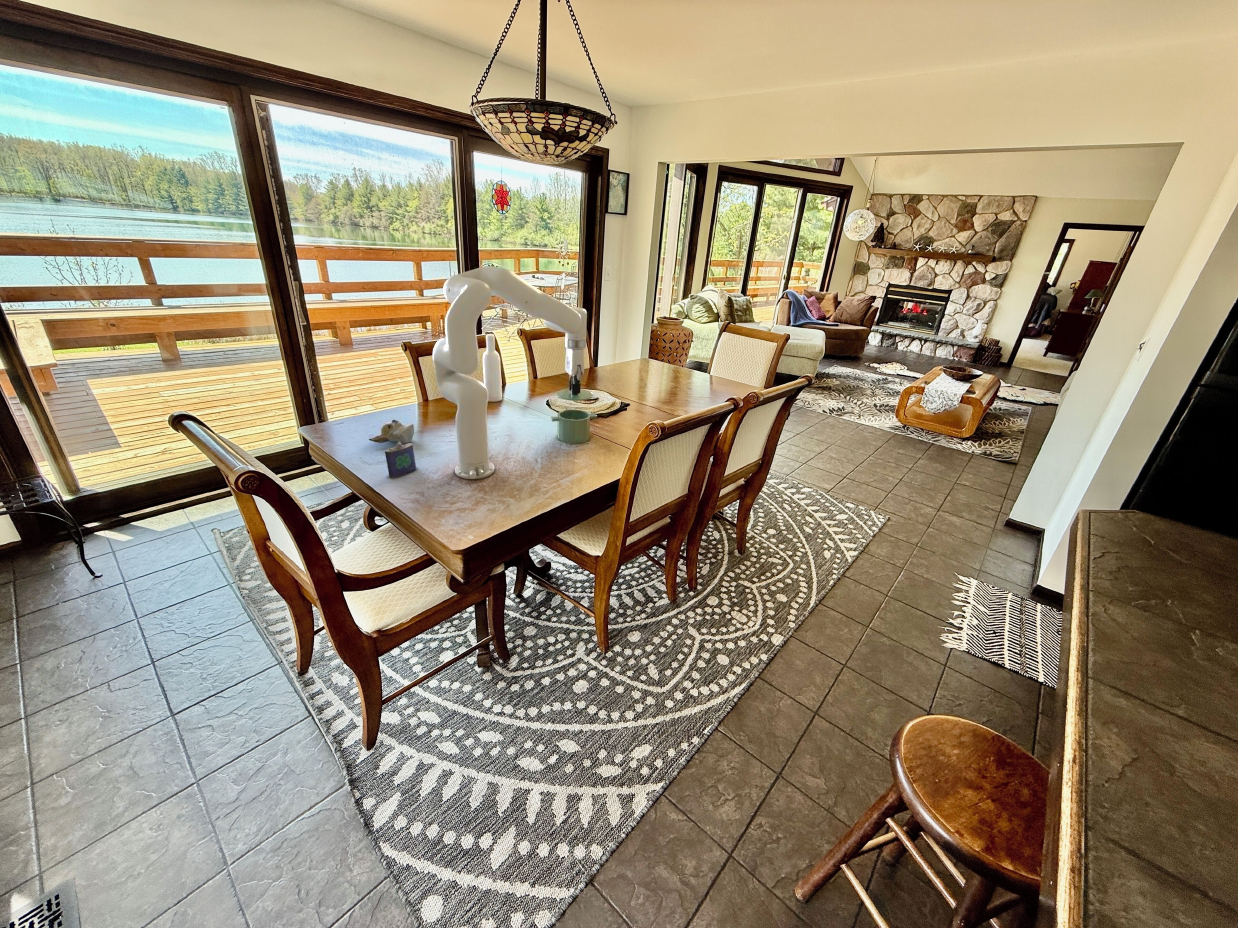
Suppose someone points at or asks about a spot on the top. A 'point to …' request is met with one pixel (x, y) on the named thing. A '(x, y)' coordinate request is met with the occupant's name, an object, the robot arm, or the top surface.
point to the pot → (573, 425)
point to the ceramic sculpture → (395, 433)
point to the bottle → (492, 370)
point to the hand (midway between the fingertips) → (574, 391)
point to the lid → (568, 394)
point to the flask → (400, 460)
